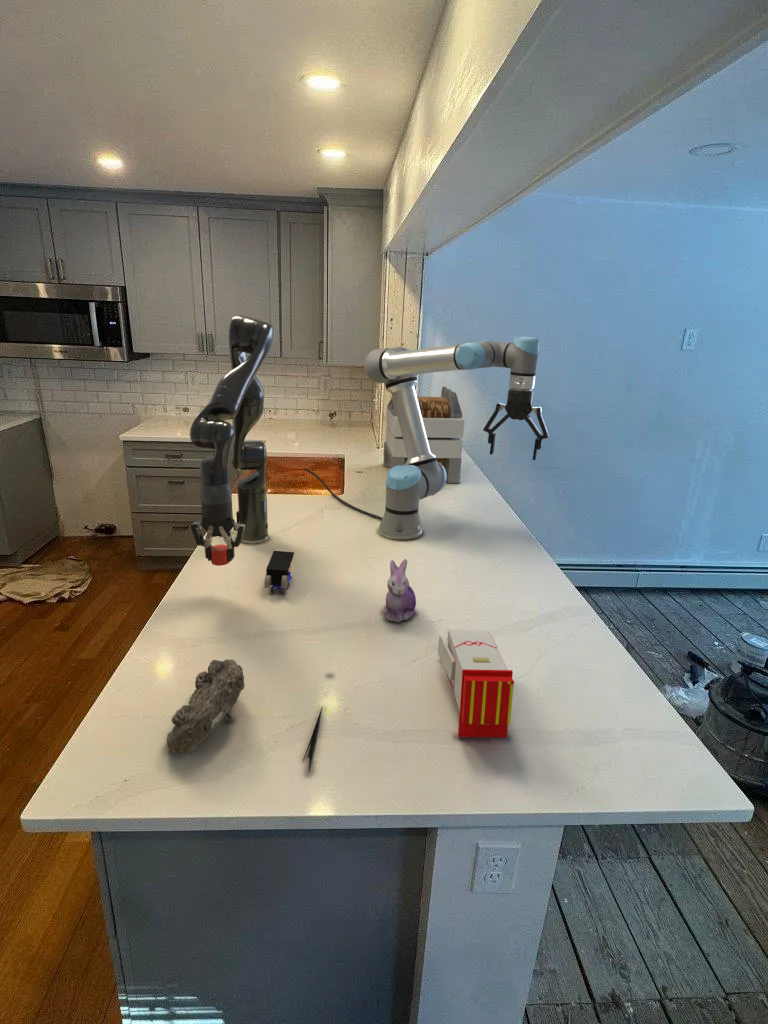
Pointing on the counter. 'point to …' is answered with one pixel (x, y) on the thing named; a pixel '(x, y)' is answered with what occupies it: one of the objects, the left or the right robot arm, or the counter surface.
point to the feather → (313, 740)
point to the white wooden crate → (430, 433)
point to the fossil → (206, 705)
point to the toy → (478, 682)
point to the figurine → (399, 594)
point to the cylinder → (219, 555)
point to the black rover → (279, 570)
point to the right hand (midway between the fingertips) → (512, 456)
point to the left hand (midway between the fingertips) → (220, 559)
